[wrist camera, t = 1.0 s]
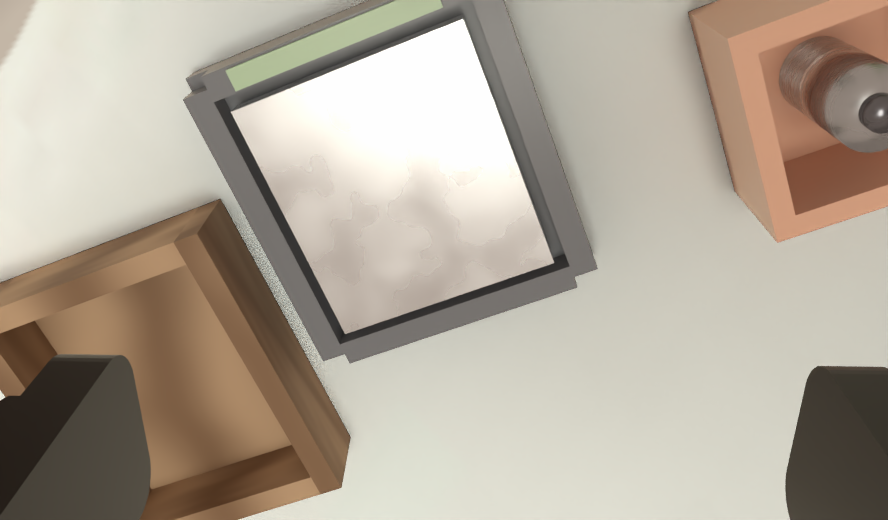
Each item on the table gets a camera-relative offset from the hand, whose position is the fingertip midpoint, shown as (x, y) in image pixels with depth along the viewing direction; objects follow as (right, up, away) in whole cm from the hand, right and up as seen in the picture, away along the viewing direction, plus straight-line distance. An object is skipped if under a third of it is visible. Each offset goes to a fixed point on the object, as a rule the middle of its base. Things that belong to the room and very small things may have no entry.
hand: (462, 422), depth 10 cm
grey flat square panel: (-2, +5, +22) cm, 23 cm away
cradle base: (-2, +6, +24) cm, 24 cm away
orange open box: (+14, +9, +22) cm, 27 cm away
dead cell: (+14, +9, +21) cm, 27 cm away
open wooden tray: (-12, -3, +28) cm, 31 cm away
